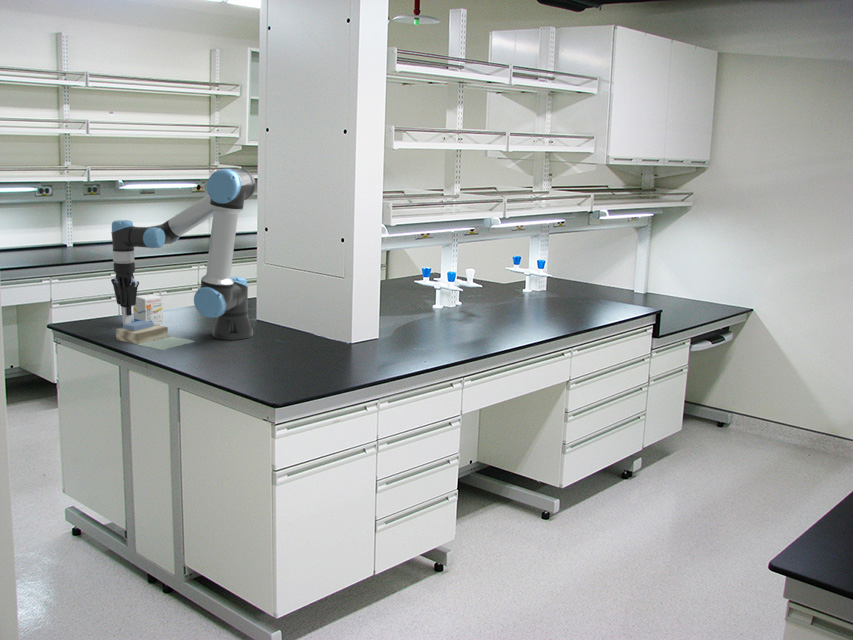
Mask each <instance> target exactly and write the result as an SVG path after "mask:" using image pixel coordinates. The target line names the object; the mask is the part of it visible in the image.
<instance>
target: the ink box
mask: <svg viewBox="0 0 853 640" xmlns="http://www.w3.org/2000/svg"><path fill="white" fill-rule="evenodd" d="M163 304H164V303H163V296H160V295H157V294H150V293H149V294H143V295H137V296H136V304H135V305H134V306H132V308H133V310H132V311H133V322H136V321H141V320H143V321H148V322H153V324H154V325H159V326H162V325H161V324H163V325H164V306H163Z"/></svg>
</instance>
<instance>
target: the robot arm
mask: <svg viewBox="0 0 853 640" xmlns="http://www.w3.org/2000/svg"><path fill="white" fill-rule="evenodd" d="M205 187H206V192H207V195H205V196H204V197H202V198H201V199H199V200H198V201H196V202H194V203H193V204H191V205H190V206H187V208H185V209H183V210H182V211H180V212H178V214H176V215H174V216H172V217H171V218H170V219H168V220H166V221H165V222H163V223H161V224H158V225H151V226H134V223H133V221H132V220H127V219H121V220H120V219H119V220H113V221H112V222H111V232H110V233H111V240H112V241H111V242H112V261H113V272H114V273H115V276H114V278H111V281H110V282H111V284H112V286H113V290H114V294H115V301H116V304H117V305H120V307H121V315H122V325H123V324H127V323H132V314H133V313H132V311H133V310H132V308H133V306H134V305H135V304H136V296H138V287H139V285H140V282H139V280H138V281H136V279H135V276H134V273H135V272H136V265H135V264H136V263H135V262H134V261H135V248H145V249H146V248H147V249H159V248H160V249H161V248H163V245H169V244H173V243H175V242H177V241H178V240H179V239H180V237H182V236H183V235H185V234H186V233H188V232H189V231H191V230H193V229H195V228H196V227H197V226H198V227H199V225H201V224H203V223H204V222H206V221H208V220H209V219H211V218H212V222H211V231H210V239H209V248H208V254H207V255H208V256H207V265H206V274H205V275H203V276H202V277H201V279H200V285H199V286H200V287H199V288H198V290H196V292H195V293H194V295H193V305H194V307H195V309H196V310H197V311H198V313H199V314H200V315H202V316H204V317H206V318H210V319H212V318H213V319H214V318H216V319H215V321H214V326H213V328H212V337H214V338H215V339H218V340H228V341H229V340H230V341H231V340H233V341H234V340H235V341H236V340H244V339H248V338H251V337H253V335H254V331H253V327H252V325H251V322H250V318H249V314H248V313H249V311H248V310H249V307H248V306H249V304H248V303H249V301H248V300H249V297H248V295H249V293H248V288H249V286H248V280H247V279H246V278H245V277H240V276H239V277H238V276H237V277H236V276H231V273H232V267H233V258H234V249H235V241H236V232H237V227H238V217H239V213H240V212H242V211H243V210H244V204H245V203H244V202H245V201H246V200H248V199H250V198H251V197H252V196H253V195H254V194H255V192H256V187H257V181H256V179H255V177H254V175H253V174H252V173H251V172H250V170H249V171H248V170H247V169H244V168H241V167H237V168H225V167H224V168H222V169H218V170H215V171H214V172H213V173H211V174H210V176H209V177H208V179H207V181H206V186H205Z"/></svg>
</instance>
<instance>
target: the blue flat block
mask: <svg viewBox="0 0 853 640" xmlns="http://www.w3.org/2000/svg"><path fill="white" fill-rule="evenodd" d="M149 327H153V322H148V321H143V320H141V321H136V322H134V321H131V323H127V324H123V323H122V328H123V329H128V330H133V331H135V330H140V329H144V328H149Z"/></svg>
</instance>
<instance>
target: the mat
mask: <svg viewBox="0 0 853 640" xmlns="http://www.w3.org/2000/svg"><path fill="white" fill-rule="evenodd" d="M191 343H195V340H191V339H186V338H181V337H177V336H170V337H169V336H168V338H163V339H159V340H155V341H151V342H147V343H142V344H137V346H139V347H143V346H144V348H149V349H153V350H158V351H165V350H168V349H172V348H176V347H180V346H184V345H187V344H191Z"/></svg>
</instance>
